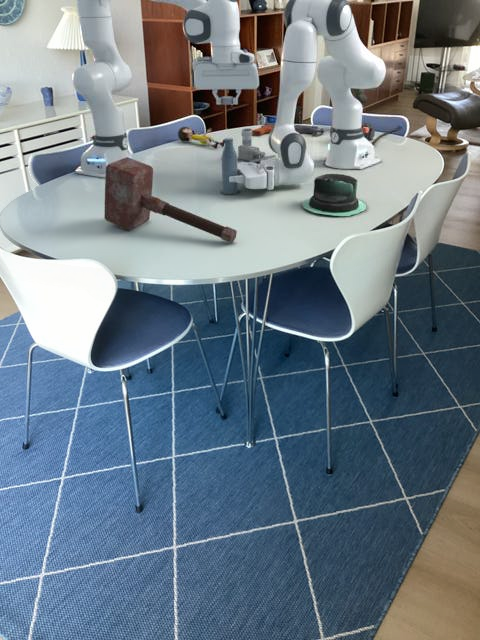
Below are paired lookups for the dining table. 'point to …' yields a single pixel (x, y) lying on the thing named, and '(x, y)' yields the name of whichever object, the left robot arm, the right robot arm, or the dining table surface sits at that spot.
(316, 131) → the submachine gun
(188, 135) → the figurine
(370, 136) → the toy
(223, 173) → the bottle
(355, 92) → the statue
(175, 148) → the dining table surface
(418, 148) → the dining table surface
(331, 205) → the round two-tone rimmed part
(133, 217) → the sledgehammer
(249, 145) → the camera
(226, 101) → the cap
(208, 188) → the dining table surface
